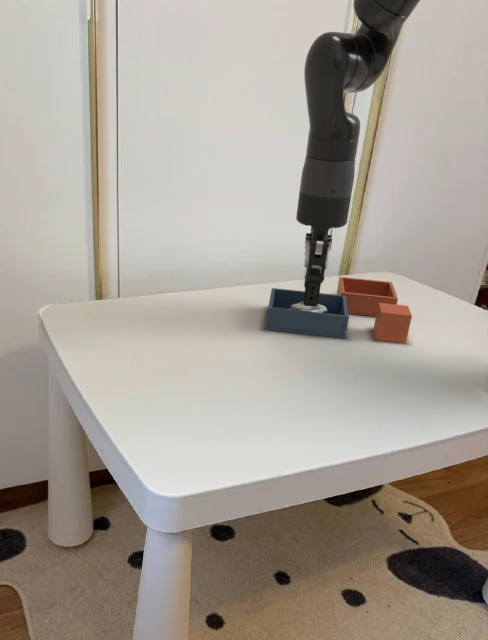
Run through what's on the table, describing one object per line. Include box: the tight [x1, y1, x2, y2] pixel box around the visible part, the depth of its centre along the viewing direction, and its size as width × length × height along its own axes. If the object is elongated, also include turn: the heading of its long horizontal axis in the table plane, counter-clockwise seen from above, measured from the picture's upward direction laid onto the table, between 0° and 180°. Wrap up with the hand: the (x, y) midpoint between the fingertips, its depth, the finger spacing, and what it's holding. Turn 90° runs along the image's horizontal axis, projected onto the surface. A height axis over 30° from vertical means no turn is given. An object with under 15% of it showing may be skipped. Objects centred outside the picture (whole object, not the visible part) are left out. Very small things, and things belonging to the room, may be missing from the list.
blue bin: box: [265, 287, 350, 339], centre depth 101 cm, size 12×10×4 cm
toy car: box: [290, 302, 327, 313], centre depth 101 cm, size 4×8×3 cm, turn 133°
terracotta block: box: [372, 303, 413, 344], centre depth 98 cm, size 4×4×4 cm
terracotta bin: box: [335, 276, 399, 318], centre depth 109 cm, size 9×9×4 cm
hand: (310, 296), depth 100 cm, fingers open, 8 cm apart
